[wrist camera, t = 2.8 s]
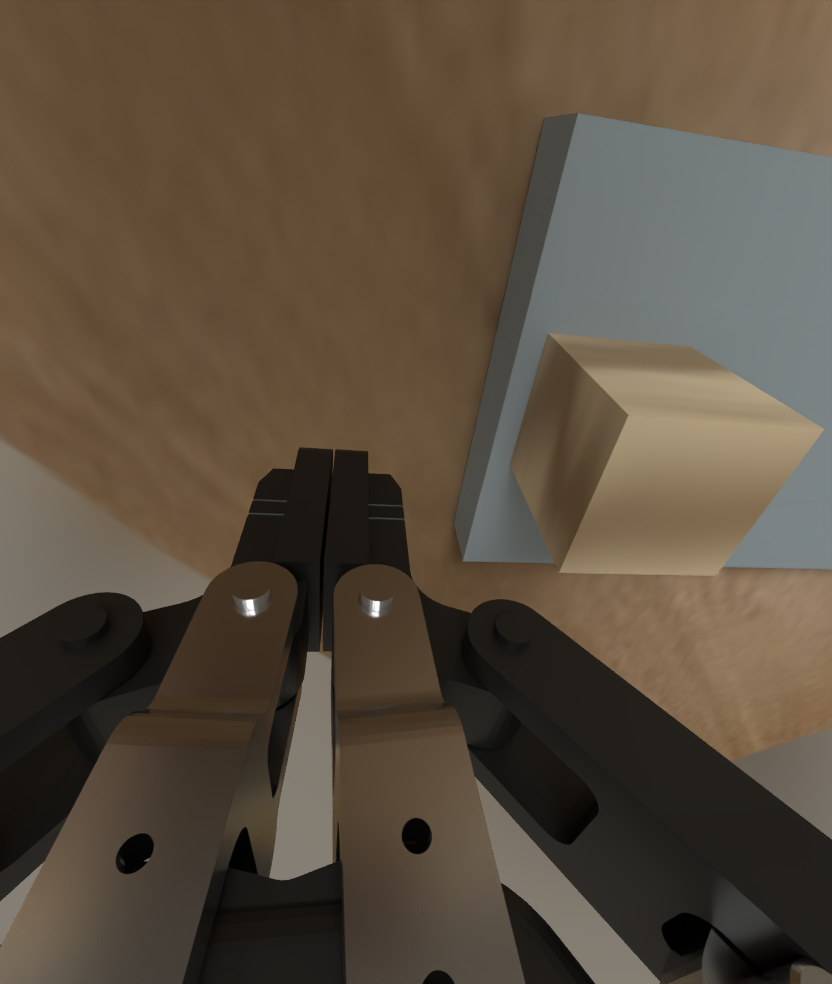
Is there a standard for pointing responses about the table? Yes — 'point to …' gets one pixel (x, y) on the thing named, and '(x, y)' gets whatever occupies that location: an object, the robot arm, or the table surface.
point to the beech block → (649, 456)
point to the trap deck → (666, 304)
